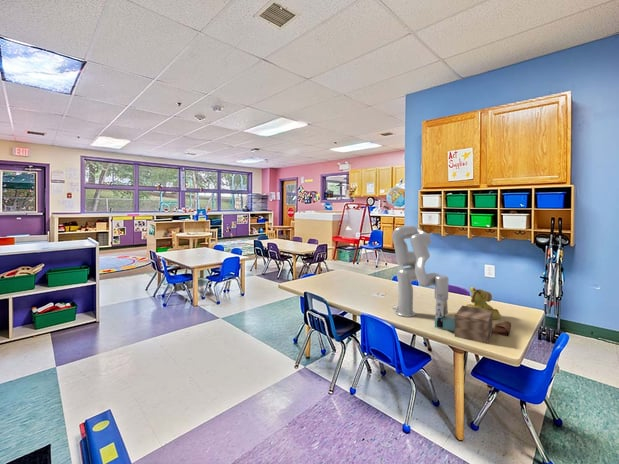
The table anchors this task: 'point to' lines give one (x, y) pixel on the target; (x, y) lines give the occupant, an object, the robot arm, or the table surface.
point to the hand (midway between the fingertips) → (441, 325)
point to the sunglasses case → (502, 328)
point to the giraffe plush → (482, 301)
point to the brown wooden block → (473, 324)
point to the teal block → (447, 323)
